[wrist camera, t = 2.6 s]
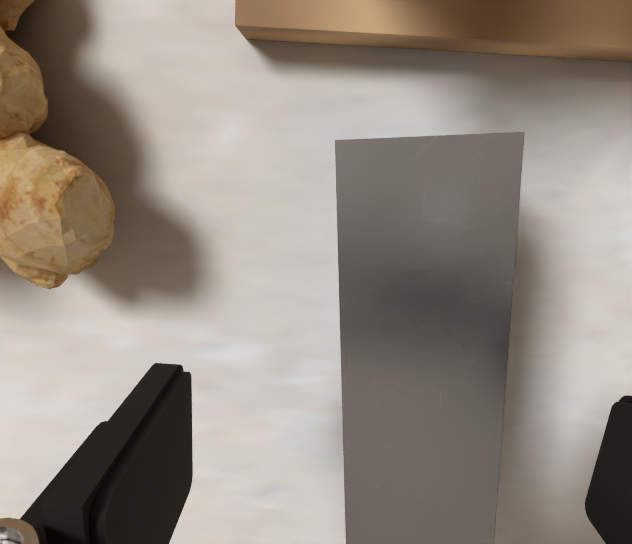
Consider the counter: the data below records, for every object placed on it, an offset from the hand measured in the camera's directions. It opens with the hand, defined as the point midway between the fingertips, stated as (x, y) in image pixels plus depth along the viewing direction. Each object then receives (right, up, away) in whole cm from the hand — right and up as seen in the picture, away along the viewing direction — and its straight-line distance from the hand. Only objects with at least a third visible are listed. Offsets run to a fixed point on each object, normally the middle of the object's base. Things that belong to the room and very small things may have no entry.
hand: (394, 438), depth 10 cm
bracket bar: (+1, +1, +7) cm, 7 cm away
